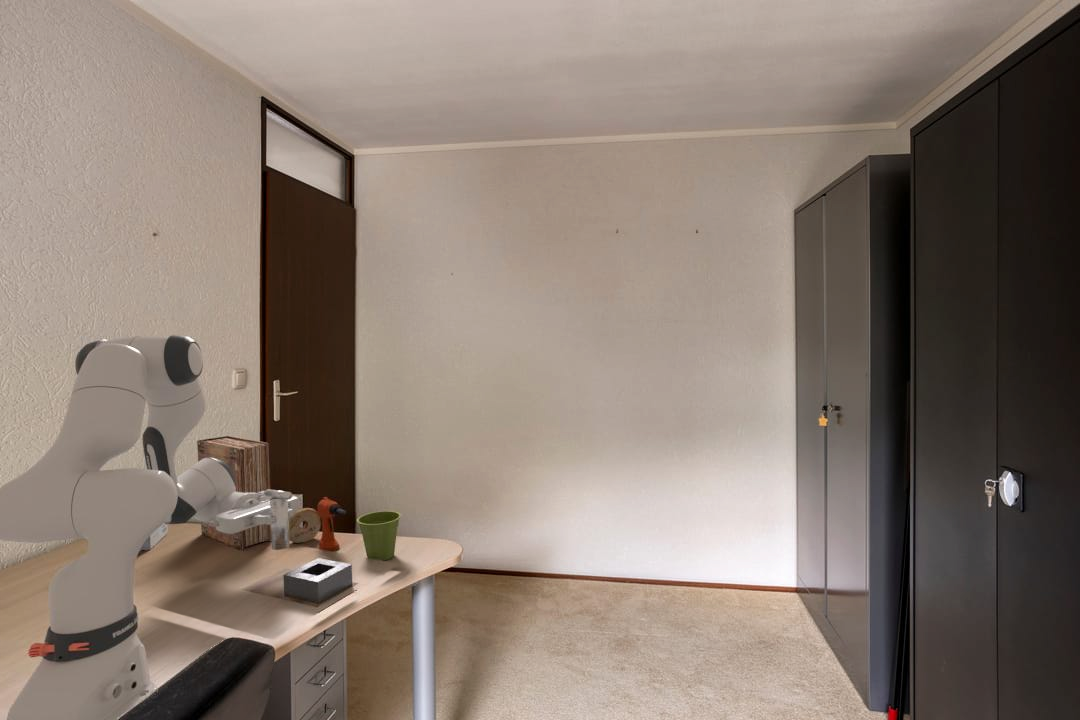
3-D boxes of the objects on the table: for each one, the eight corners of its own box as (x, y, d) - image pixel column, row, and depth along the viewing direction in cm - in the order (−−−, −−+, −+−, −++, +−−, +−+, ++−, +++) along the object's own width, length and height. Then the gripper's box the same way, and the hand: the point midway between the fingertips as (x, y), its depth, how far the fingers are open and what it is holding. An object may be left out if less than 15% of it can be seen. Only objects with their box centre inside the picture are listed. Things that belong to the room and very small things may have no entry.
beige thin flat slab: (358, 589, 137) (358, 583, 137) (317, 613, 125) (317, 607, 125) (285, 574, 146) (285, 568, 146) (241, 595, 134) (241, 589, 134)
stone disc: (317, 535, 175) (316, 503, 175) (322, 538, 173) (321, 505, 172) (282, 544, 168) (281, 511, 168) (287, 547, 165) (286, 513, 165)
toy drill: (339, 559, 152) (335, 503, 153) (316, 549, 166) (312, 497, 167) (357, 554, 155) (352, 499, 156) (332, 544, 169) (328, 494, 170)
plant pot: (381, 546, 165) (380, 508, 164) (411, 553, 159) (410, 514, 158) (348, 560, 155) (347, 520, 154) (379, 569, 149) (378, 526, 148)
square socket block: (352, 584, 136) (351, 564, 136) (318, 604, 126) (317, 582, 126) (319, 577, 140) (318, 558, 140) (284, 596, 130) (283, 574, 130)
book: (272, 541, 171) (268, 443, 170) (241, 551, 163) (237, 448, 162) (231, 526, 186) (227, 435, 185) (201, 534, 178) (197, 440, 177)
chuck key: (297, 545, 138) (295, 490, 137) (284, 551, 134) (282, 494, 134) (274, 541, 141) (272, 487, 141) (260, 547, 137) (258, 491, 137)
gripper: (202, 510, 133) (243, 516, 127) (275, 488, 152) (313, 493, 146) (203, 536, 133) (244, 544, 127) (276, 511, 152) (314, 517, 146)
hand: (282, 516), depth 137 cm, fingers closed on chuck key, 4 cm apart
